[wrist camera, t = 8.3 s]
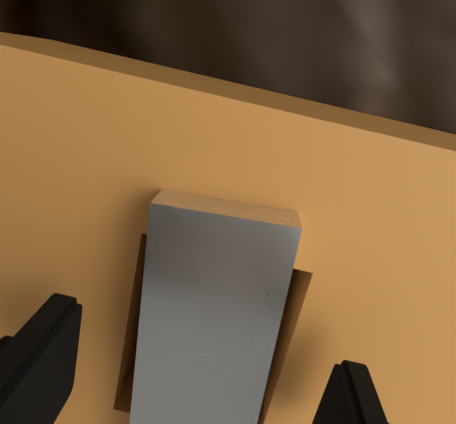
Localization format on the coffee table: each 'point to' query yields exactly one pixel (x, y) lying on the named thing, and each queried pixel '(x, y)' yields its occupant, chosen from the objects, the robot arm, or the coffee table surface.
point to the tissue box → (232, 190)
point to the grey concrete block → (210, 308)
